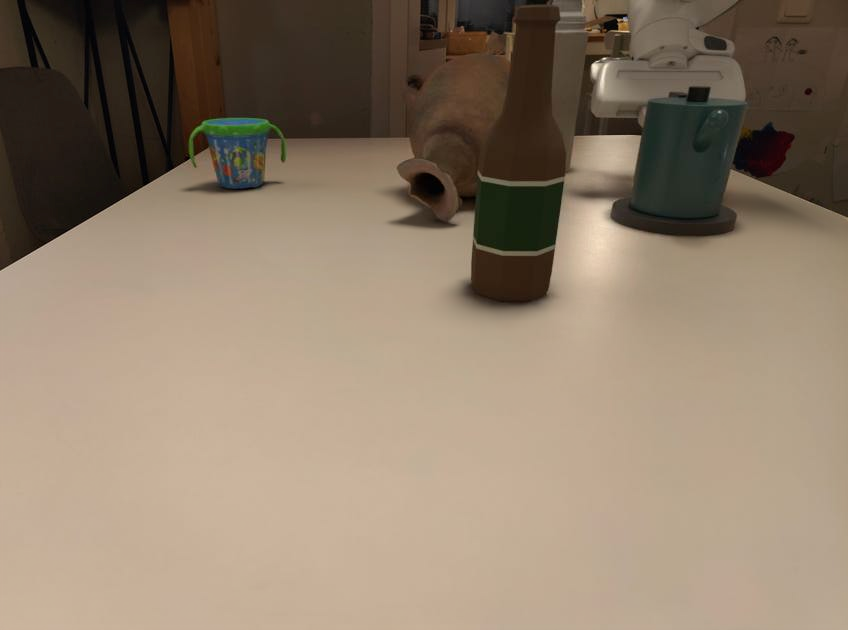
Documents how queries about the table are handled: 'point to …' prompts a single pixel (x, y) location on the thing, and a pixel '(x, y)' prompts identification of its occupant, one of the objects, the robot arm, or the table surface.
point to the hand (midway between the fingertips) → (668, 139)
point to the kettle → (686, 154)
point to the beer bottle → (521, 172)
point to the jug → (451, 128)
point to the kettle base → (673, 221)
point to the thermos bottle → (568, 69)
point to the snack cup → (237, 149)
